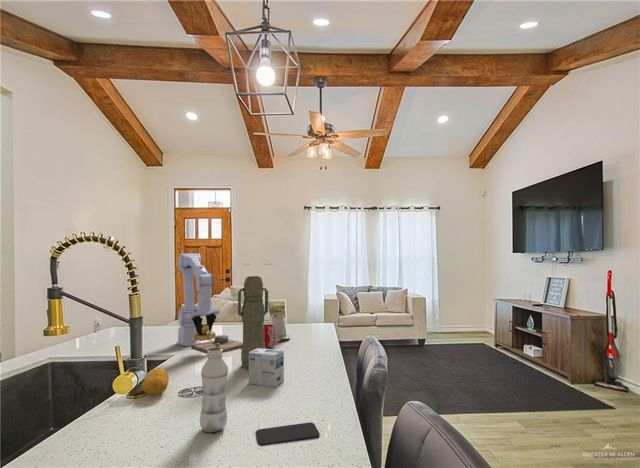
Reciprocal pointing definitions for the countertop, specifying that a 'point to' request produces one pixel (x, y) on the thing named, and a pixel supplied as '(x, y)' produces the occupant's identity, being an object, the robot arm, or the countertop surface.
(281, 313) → the white paper bag
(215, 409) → the plastic bottle
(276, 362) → the light bulb box
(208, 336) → the brass gear
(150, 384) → the potato
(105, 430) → the countertop surface
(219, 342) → the carrier plate
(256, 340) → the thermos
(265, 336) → the soda can
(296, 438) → the phone
